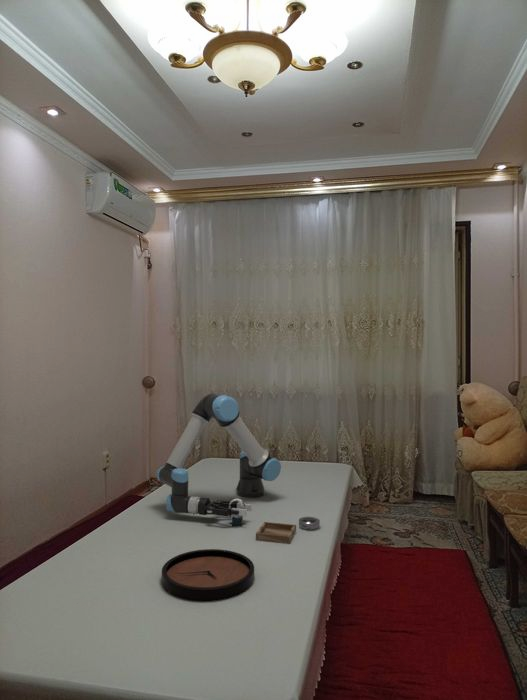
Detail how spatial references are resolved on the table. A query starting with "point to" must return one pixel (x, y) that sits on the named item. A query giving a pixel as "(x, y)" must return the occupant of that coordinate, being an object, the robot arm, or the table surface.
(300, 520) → the round socket
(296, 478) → the table surface
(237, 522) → the watch
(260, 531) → the rect wooden tray
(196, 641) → the table surface
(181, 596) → the wall clock
